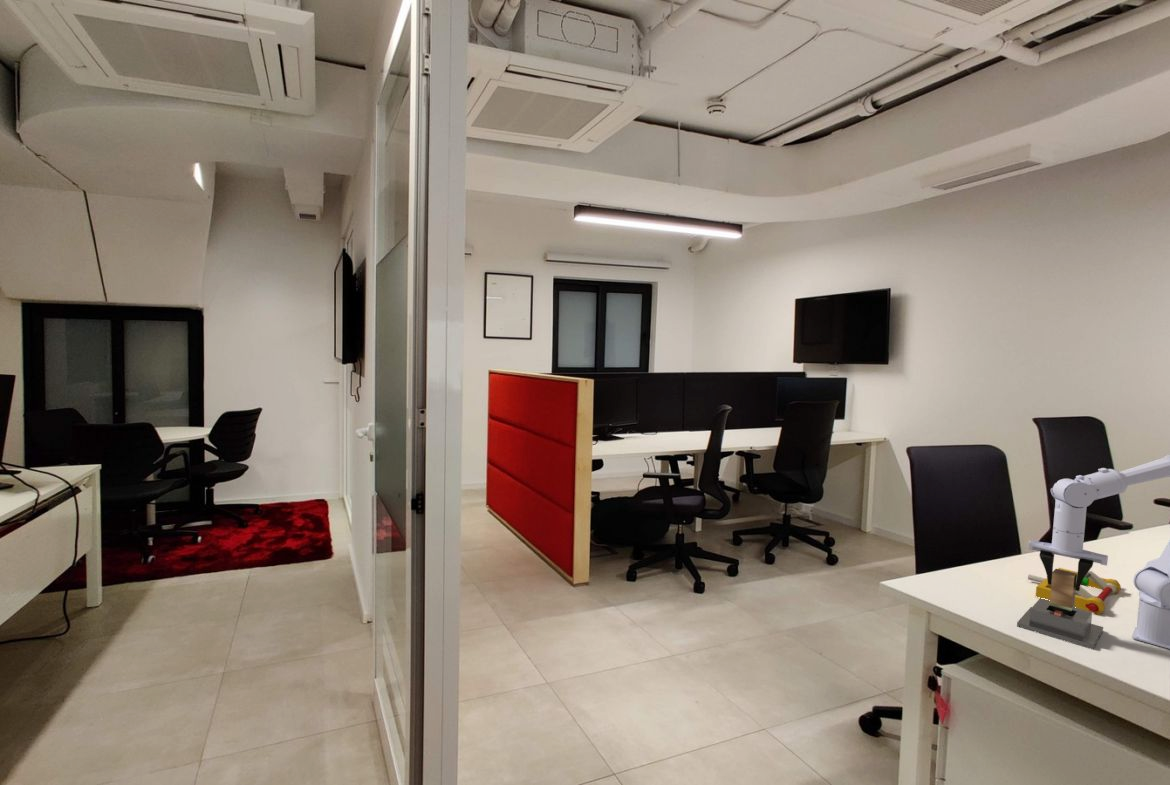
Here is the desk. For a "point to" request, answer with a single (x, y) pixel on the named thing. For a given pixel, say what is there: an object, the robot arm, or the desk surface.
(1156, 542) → the desk surface
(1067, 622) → the metal sleeve
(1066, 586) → the oak post
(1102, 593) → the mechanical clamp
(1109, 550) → the desk surface
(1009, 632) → the desk surface
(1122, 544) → the desk surface
